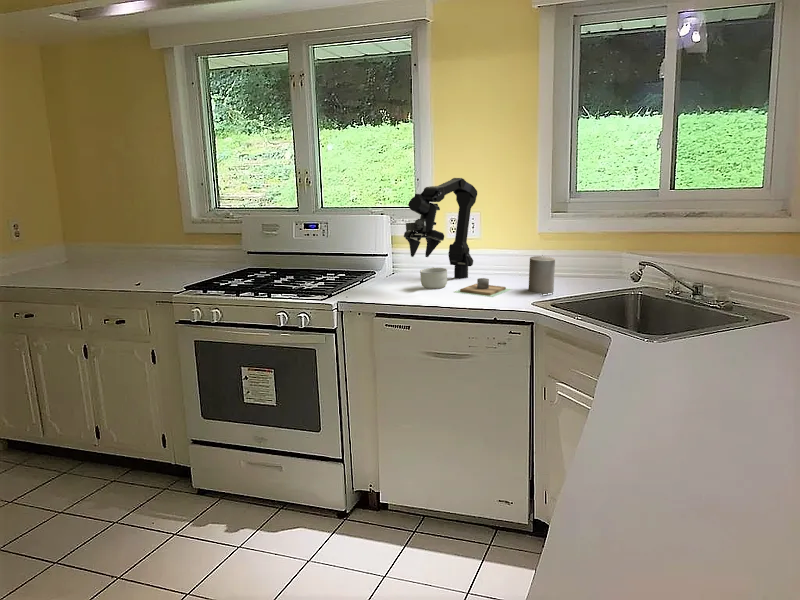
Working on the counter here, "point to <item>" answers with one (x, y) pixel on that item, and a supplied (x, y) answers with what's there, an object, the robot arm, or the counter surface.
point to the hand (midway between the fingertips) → (419, 256)
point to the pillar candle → (541, 274)
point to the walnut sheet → (481, 291)
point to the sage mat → (485, 295)
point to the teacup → (433, 278)
